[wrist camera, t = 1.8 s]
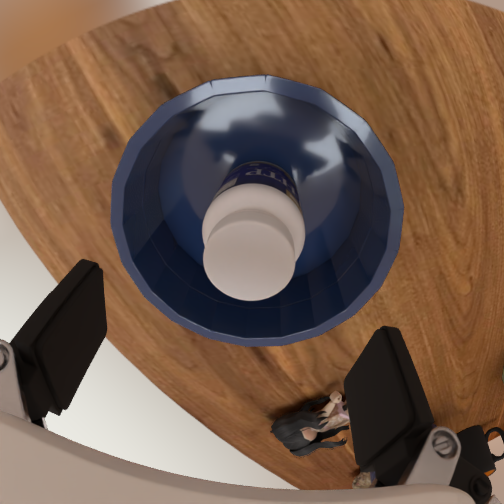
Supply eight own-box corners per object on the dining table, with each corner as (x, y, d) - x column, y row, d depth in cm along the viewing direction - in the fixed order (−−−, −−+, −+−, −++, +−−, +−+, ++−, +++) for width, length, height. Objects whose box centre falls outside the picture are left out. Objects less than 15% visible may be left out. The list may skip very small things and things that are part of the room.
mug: (498, 422, 39) (513, 462, 30) (447, 451, 43) (458, 492, 34) (496, 409, 36) (514, 454, 27) (440, 442, 40) (452, 488, 31)
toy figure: (370, 356, 29) (261, 415, 34) (389, 406, 24) (265, 461, 28) (395, 377, 32) (296, 429, 37) (412, 420, 27) (303, 469, 32)
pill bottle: (313, 188, 20) (337, 253, 13) (268, 245, 23) (265, 329, 15) (247, 143, 19) (228, 181, 12) (206, 206, 22) (168, 276, 14)
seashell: (368, 446, 45) (336, 482, 45) (383, 470, 38) (346, 506, 38) (406, 455, 46) (376, 488, 46) (422, 475, 39) (388, 510, 39)
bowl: (169, 64, 17) (128, 55, 12) (397, 122, 18) (443, 137, 12) (144, 263, 25) (112, 313, 19) (327, 305, 26) (338, 363, 20)
